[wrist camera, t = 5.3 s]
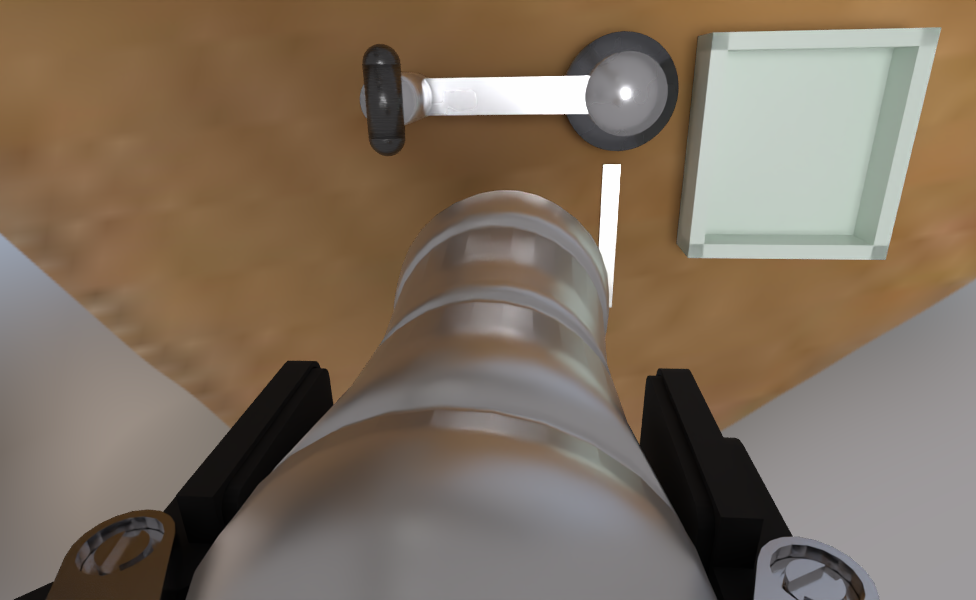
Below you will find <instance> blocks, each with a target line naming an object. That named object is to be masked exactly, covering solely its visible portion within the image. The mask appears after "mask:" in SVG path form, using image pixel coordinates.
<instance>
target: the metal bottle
mask: <svg viewBox="0 0 976 600" xmlns="http://www.w3.org/2000/svg"><path fill="white" fill-rule="evenodd" d="M608 315H609V286H608V274H607V271H606V267H605V264H604V261H603V257H602V254H601V252H600V250H599V249H598V247H597V245H596V243H595V241H594V240H593V238H592V236H591V235H590V234H589V232H588V231H587V230H586V229H585V228H584V227H583V226H582V224H581V223H580V222H579V221H578V220H577V219H576V218H574V217H573V216H572V215H570V214H569V213H568V212H566V211H565V210H564V209H562V208H561V207H560V206H558V205H557V204H555V203H553V202H551V201H549V200H547V199H545V198H542V197H540V196H538V195H535V194H531V193H526V192H522V191H513V190H497V191H491V192H486V193H480V194H477V195H474V196H472V197H469V198H467V199H464V200H462V201H459V202H456V203H454V204H452V205H451V206H449V207H448V208H446V209H445V210H443V211H442V212H440V213H439V214H437V215H436V216H435V217H434V218H433V219H432V220H431V221H430V222H429V223H428V224H427V225H426V226H425V227H424V228H423V229H422V230H421V231H420V232H419V234H418V235H417V237H416V238H415V240H414V241H413V243H412V244H411V246H410V247H409V250H408V252H407V255H406V257H405V260H404V262H403V265H402V268H401V272H400V276H399V280H398V284H397V289H396V295H395V301H394V312H393V314H392V317H391V320H390V323H389V326H388V328H387V331H386V334H385V337H384V339H383V341H382V342H381V344H380V345H379V347H378V348H377V349H376V351H375V352H374V354H373V355H372V357H371V358H370V360H369V361H368V363H367V364H366V365H365V367H364V368H363V370H362V371H361V373H360V374H359V376H358V377H357V379H356V380H355V382H354V383H353V385H352V386H351V387H350V388H349V389H348V390H347V391H346V392H345V393H344V394H343V395H342V396H341V398H340V399H339V400H338V401H337V402H336V403H335V404H334V405H333V406H332V407H331V408H330V409H329V410H328V411H327V412H326V414H325V415H324V416H323V417H322V418H321V419H320V420H319V421H318V422H317V423H316V424H315V425H314V426H313V427H312V429H311V430H310V431H309V432H308V433H307V434H306V435H305V436H304V437H303V438H302V439H301V440H300V441H299V442H298V443H297V445H296V446H295V447H294V448H293V449H292V450H291V451H290V452H289V453H288V454H287V455H286V456H285V457H284V458H283V460H282V461H281V462H280V463H279V464H278V465H277V466H276V467H275V468H274V469H273V471H272V472H271V473H270V474H269V475H268V476H267V477H266V478H265V479H264V480H263V481H262V482H260V483H259V484H258V486H257V487H256V488H255V490H254V491H253V492H252V494H251V495H250V496H249V498H248V499H247V500H246V502H245V503H244V504H243V506H242V507H241V508H240V510H239V511H238V512H237V513H236V515H235V516H234V517H233V518H232V520H231V521H230V522H229V523H228V525H227V526H226V527H225V528H224V529H223V531H222V532H221V533H220V534H219V536H218V537H217V539H216V540H215V542H214V543H213V545H212V546H211V548H210V549H209V551H208V552H207V554H206V555H205V557H204V558H203V560H202V561H201V563H200V564H199V566H198V567H197V569H196V570H195V572H194V575H193V578H192V581H191V584H190V588H189V591H188V594H187V597H186V600H717V597H716V595H715V593H714V591H713V588H712V586H711V584H710V582H709V579H708V577H707V575H706V572H705V570H704V567H703V565H702V562H701V560H700V557H699V555H698V553H697V550H696V548H695V546H694V544H693V543H692V541H691V539H690V538H689V536H688V534H687V533H686V531H685V529H684V527H683V525H682V523H681V521H680V519H679V517H678V516H677V514H676V512H675V510H674V508H673V506H672V504H671V503H670V501H669V499H668V497H667V495H666V493H665V491H664V490H663V488H662V486H661V484H660V482H659V480H658V478H657V477H656V475H655V473H654V471H653V469H652V467H651V465H650V464H649V462H648V460H647V458H646V456H645V454H644V452H643V451H642V449H641V447H640V445H639V443H638V441H637V439H636V438H635V436H634V434H633V432H632V430H631V428H630V426H629V425H628V423H627V420H626V417H625V414H624V412H623V409H622V406H621V403H620V400H619V397H618V394H617V392H616V389H615V386H614V383H613V380H612V378H611V375H610V372H609V369H608V366H607V358H606V345H605V335H606V331H607V323H608Z"/></svg>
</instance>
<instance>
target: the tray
mask: <svg viewBox="0 0 976 600" xmlns="http://www.w3.org/2000/svg"><path fill="white" fill-rule="evenodd" d="M940 31H941V28H896V29H851V30H806V31H761V32H716V33H709V34H705V35H701V36H698V42H697V51H696V61H695V71H694V80H693V90H692V99H691V109H690V119H689V128H688V138H687V147H686V157H685V167H684V176H683V186H682V195H681V205H680V215H679V224H678V234H677V243H676V244H677V245H678V246H679V247H680V249H681V250H682V251H683V252H684V254H685V255H686V256H687V257H688V258H760V259H863V260H886V256H887V251H888V247H889V243H890V239H891V235H892V231H893V226H894V222H895V218H896V214H897V210H898V206H899V201H900V197H901V193H902V189H903V185H904V181H905V176H906V172H907V168H908V164H909V160H910V156H911V151H912V147H913V143H914V139H915V135H916V131H917V126H918V122H919V118H920V114H921V110H922V106H923V101H924V97H925V93H926V89H927V85H928V81H929V76H930V72H931V68H932V64H933V60H934V56H935V51H936V47H937V43H938V39H939V35H940Z"/></svg>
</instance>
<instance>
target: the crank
mask: <svg viewBox="0 0 976 600" xmlns="http://www.w3.org/2000/svg"><path fill="white" fill-rule="evenodd" d="M362 66H363V77H364V85H363V87H362V90H361V93H360V105H361V109H362V111H363V114H364V115H365V117H366V118H367V124H368V135H369V142H370V144H371V146H372V148H373V149H374V150H375V151H376V152H377V153H379V154H381V155H384V156H392V155H395V154H397V153H398V152H399V151H401V149H402V148H403V146H404V143H405V126H404V125H407V124H409V123H412V122H415V121H417V120H420V119H423V118H425V117H427V116H428V115H512V114H588V116H589V117H590V119H591V120H592V121H593V122H594V123H595V124H596V125H597V126H598V127H599V128H601V129H602V130H603V131H605V132H607V133H609V134H612V135H616V136H631V135H635V134H638V133H640V132H642V131H644V130H646V129H647V128H649V127H650V126H651V125H653V124H654V123H655V121H656V120H657V119H658V118H659V116H660V115H661V113H662V111H663V109H664V107H665V104H666V101H667V95H668V86H667V80H666V76H665V74H664V72H663V70H662V68H661V67H660V65H659V64H658V63H657V62H656V61H655V60H654V59H653V58H651V57H650V56H648V55H646V54H644V53H641V52H637V51H623V52H619V53H615V54H612V55H610V56H607V57H605V58H604V59H602V60H601V61H599V62H598V63H597V64H596V65H595V66H594V67H593V69H592V70H591V72H590V73H589V75H588V76H542V77H481V78H428V77H426V76H425V75H423V74H420V73H409V72H401V64H400V59H399V56H398V55H397V53H396V52H395V50H393V49H392V48H391V47H389V46H387V45H384V44H376V45H373V46H371V47H370V48H369V49H368V50H367V51H366V52H365V54H364V56H363V62H362Z"/></svg>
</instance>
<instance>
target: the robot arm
mask: <svg viewBox="0 0 976 600" xmlns="http://www.w3.org/2000/svg"><path fill="white" fill-rule="evenodd" d="M332 406H333V399H332V392H331V385H330V377H329V373H328V370H327V369H324V368H320V365H319V363H318V362H316V361H287V362H286V363H285V364H284V365H283V366H282V368H281V369H280V370H279V371H278V373H277V374H276V375H275V376H274V377H273V379H272V380H271V381H270V382H269V383H268V385H267V386H266V387H265V388H264V389H263V391H262V392H261V393H260V394H259V395H258V397H257V398H256V399H255V400H254V402H253V403H252V404H251V405H250V406H249V408H248V409H247V410H246V411H245V412H244V414H243V415H242V416H241V417H240V418H239V420H238V421H237V422H236V423H235V425H234V426H233V427H232V428H231V429H230V431H229V432H228V433H227V435H225V437H224V438H223V439H222V440H221V441H220V443H219V444H218V445H217V446H216V448H215V449H214V450H213V451H212V452H211V454H210V455H209V456H208V457H207V458H206V460H205V461H204V462H203V463H202V464H201V466H200V467H199V468H198V469H197V471H196V472H195V473H194V474H193V475H192V477H191V478H190V479H189V480H188V481H187V483H186V484H185V485H184V486H183V488H182V489H181V490H180V491H179V492H178V494H177V495H176V497H175V498H174V499H173V501H172V502H171V503H170V504H169V505H168V507H167V508H166V509H165V510H164V512H162V511H156V510H139V511H132V512H128V513H125V514H122V515H118V516H115V517H113V518H111V519H109V520H107V521H104V522H102V523H100V524H99V525H97V526H95V527H94V528H92V529H91V530H89V531H88V532H86V533H85V534H84V535H83V536H82V537H80V538H79V539H78V540H77V541H76V542H75V543H74V544H73V545H72V546H71V548H70V550H69V551H68V553H67V554H66V556H65V558H64V560H63V562H62V564H61V566H60V569H59V571H58V573H57V575H56V578H55V580H54V582H52V583H49V584H47V585H45V586H43V587H40V588H38V589H36V590H34V591H32V592H30V593H27V594H25V595H23V596H21V597H18V598H16V599H14V600H186V597H187V594H188V591H189V588H190V584H191V581H192V578H193V575H194V572H195V570H196V569H197V567H198V566H199V564H200V563H201V561H202V560H203V558H204V557H205V555H206V554H207V552H208V551H209V549H210V548H211V546H212V545H213V543H214V542H215V540H216V539H217V537H218V536H219V534H220V533H221V532H222V531H223V529H224V528H225V527H226V526H227V525H228V523H229V522H230V521H231V520H232V518H233V517H234V516H235V515H236V513H237V512H238V511H239V510H240V508H241V507H242V506H243V504H244V503H245V502H246V500H247V499H248V498H249V496H250V495H251V494H252V492H253V491H254V490H255V488H256V487H257V486H258V484H259V483H260V482H262V481H263V480H264V479H265V478H266V477H267V476H268V475H269V474H270V473H271V472H272V471H273V469H274V468H275V467H276V466H277V465H278V464H279V463H280V462H281V461H282V460H283V458H284V457H285V456H286V455H287V454H288V453H289V452H290V451H291V450H292V449H293V448H294V447H295V446H296V445H297V443H298V442H299V441H300V440H301V439H302V438H303V437H304V436H305V435H306V434H307V433H308V432H309V431H310V430H311V429H312V427H313V426H314V425H315V424H316V423H317V422H318V421H319V420H320V419H321V418H322V417H323V416H324V415H325V414H326V412H327V411H328V410H329V409H330V408H331V407H332ZM640 447H641V449H642V451H643V452H644V454H645V456H646V458H647V460H648V462H649V464H650V465H651V467H652V469H653V471H654V473H655V475H656V477H657V478H658V480H659V482H660V484H661V486H662V488H663V490H664V491H665V493H666V495H667V497H668V499H669V501H670V503H671V504H672V506H673V508H674V510H675V512H676V514H677V516H678V517H679V519H680V521H681V523H682V525H683V527H684V529H685V531H686V533H687V534H688V536H689V538H690V539H691V541H692V543H693V544H694V546H695V548H696V550H697V553H698V555H699V557H700V560H701V562H702V565H703V567H704V570H705V572H706V575H707V577H708V579H709V582H710V584H711V586H712V588H713V591H714V593H715V595H716V597H717V600H880V599H879V595H878V592H877V589H876V586H875V583H874V582H873V580H872V579H871V578H870V577H869V575H868V574H867V572H866V571H865V570H864V569H863V568H862V567H861V566H860V565H859V564H858V563H856V562H855V561H854V560H853V559H852V558H851V557H849V556H848V555H846V554H844V553H843V552H841V551H839V550H837V549H836V548H834V547H832V546H830V545H827V544H824V543H822V542H819V541H816V540H812V539H807V538H803V537H793V536H792V534H791V532H790V531H789V529H788V527H787V525H786V523H785V522H784V520H783V518H782V516H781V514H780V512H779V510H778V508H777V507H776V505H775V503H774V501H773V499H772V497H771V495H770V494H769V492H768V490H767V488H766V487H765V484H764V483H763V481H762V479H761V477H760V475H759V473H758V472H757V469H756V468H755V466H754V464H753V462H752V460H751V458H750V457H749V455H748V453H747V451H746V449H745V447H744V446H743V444H742V443H741V441H740V440H739V439H737V438H724V437H723V436H722V434H721V432H720V430H719V428H718V426H717V424H716V422H715V420H714V418H713V416H712V414H711V412H710V410H709V407H708V405H707V403H706V401H705V399H704V397H703V395H702V393H701V391H700V389H699V387H698V385H697V383H696V381H695V379H694V377H693V375H692V373H691V371H690V370H689V369H662V368H659V369H658V371H657V374H656V376H647V379H646V387H645V397H644V407H643V417H642V428H641V438H640Z"/></svg>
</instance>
